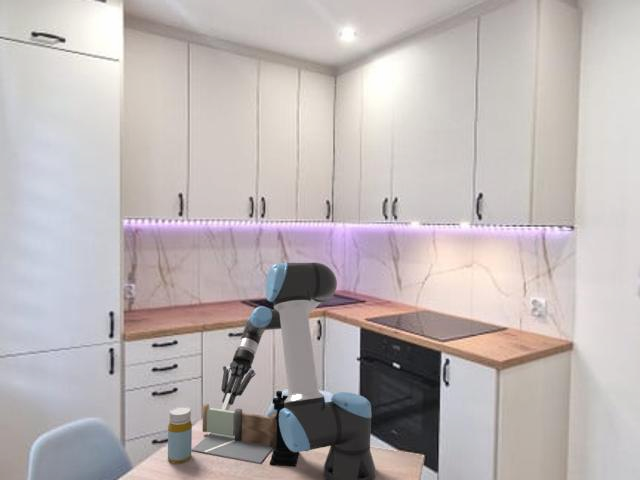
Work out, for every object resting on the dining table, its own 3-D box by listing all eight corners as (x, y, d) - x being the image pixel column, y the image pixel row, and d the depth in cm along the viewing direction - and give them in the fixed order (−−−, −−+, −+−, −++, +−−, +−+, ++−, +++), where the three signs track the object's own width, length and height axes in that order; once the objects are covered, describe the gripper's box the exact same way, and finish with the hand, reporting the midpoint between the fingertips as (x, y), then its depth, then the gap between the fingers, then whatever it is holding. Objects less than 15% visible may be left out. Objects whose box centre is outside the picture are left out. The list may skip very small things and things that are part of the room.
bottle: (191, 451, 142) (191, 405, 141) (191, 462, 135) (192, 414, 135) (167, 454, 140) (168, 407, 139) (167, 465, 133) (168, 416, 133)
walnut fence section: (278, 444, 147) (278, 414, 147) (275, 447, 145) (276, 417, 144) (236, 437, 151) (237, 408, 151) (233, 440, 149) (233, 410, 149)
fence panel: (235, 434, 151) (235, 408, 151) (232, 436, 149) (233, 410, 149) (204, 429, 154) (204, 403, 154) (201, 431, 152) (201, 405, 152)
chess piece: (299, 453, 142) (300, 391, 142) (295, 466, 134) (297, 401, 134) (274, 451, 143) (276, 390, 142) (269, 464, 135) (270, 400, 134)
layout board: (279, 439, 151) (279, 438, 151) (260, 463, 136) (260, 462, 136) (216, 429, 158) (216, 427, 158) (191, 450, 142) (191, 449, 142)
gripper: (263, 359, 173) (244, 419, 158) (233, 355, 177) (211, 414, 161) (258, 349, 168) (237, 410, 152) (227, 346, 171) (203, 405, 156)
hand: (223, 412), depth 157 cm, fingers closed
